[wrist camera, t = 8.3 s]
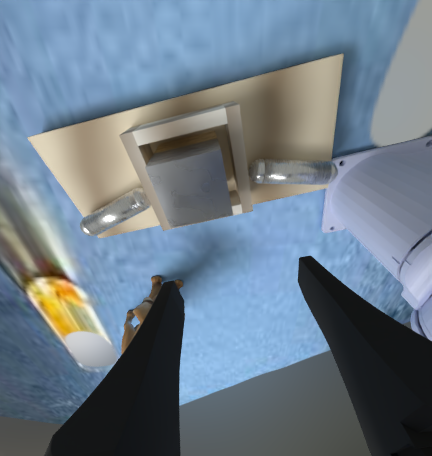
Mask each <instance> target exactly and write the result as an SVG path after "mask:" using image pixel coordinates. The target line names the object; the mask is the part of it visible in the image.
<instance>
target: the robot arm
mask: <svg viewBox="0 0 432 456" xmlns="http://www.w3.org/2000/svg"><path fill="white" fill-rule="evenodd" d="M427 142H428V143H427ZM426 143H427V144H426ZM341 161H343V163H342V164H340V162H341ZM331 162H333V163H334V164H335V165H336V166H337V168H338V174H337V177H336V178H335V180H334V181H333V182H331V183H329V184H328V188H326V191H325V200H324V209H323V219H322V228H321V229H322V231H323V232H324V233H329V232H334V231H339V230H343V229H347V230H348V231H349V232H350V233H351V234H352V235H353V236H354V237H355V238H356V239H357V240H358V241H359V242H360V243H361V244H362V245H363V246H364V247H365V248H366V249H367V250H368V251H369V252H370V253H371V254H372V255H373V256H374V257H375V258H376V259H377V260H378V261H379V262H380V263H381V264H382V265H383V266H384V267H385V268H386V269H387V270H388V271H389V272H390V273H391V274H392V275H393V276H394V277H395V278H396V279H397V280H398V281H400V282H401V283H402V284H403V286H404V290H403V292H402V294H401V295H402V296H403V297H404V298H405V299H406V301H407V302H408V303H409V304H410V305H411V306H412V307H413V308H414V310H413V312H412V314H411V327H412V330H411V329H409V328H408V327H406V326H404V325H402V324H401V323H399V322H398V321H396V320H394V319H393V318H391V317H389V316H388V315H386V314H385V313H383V312H382V311H380V310H379V309H377V308H376V307H374V306H373V305H371V304H370V303H368V302H367V301H366V300H364V299H363V298H361V297H360V296H359V295H357V294H356V293H355V292H353V291H352V290H351V289H349V288H348V287H347V286H346V285H344V284H343V283H342V282H341V281H339V280H338V279H337V278H336V277H335V276H333V275H332V274H331V273H330V272H329V271H327V270H326V269H325V268H324V267H323V266H322V265H321V264H320V263H318V262H317V261H316V260H315V259H314V258H313V257H312V256H306V257H300V258H299V271H298V283H299V286H300V288H301V291H302V293H303V296H304V298H305V300H306V302H307V304H308V306H309V308H310V310H311V312H312V314H313V316H314V318H315V319H316V321H317V323H318V325H319V327H320V329H321V331H322V333H323V335H324V336H325V338H326V341H327V343H328V345H329V347H330V349H331V351H332V354H333V356H334V359H335V361H336V363H337V366H338V368H339V371H340V373H341V376H342V378H343V381H344V383H345V386H346V388H347V391H348V393H349V396H350V398H351V401H352V404H353V406H354V409H355V411H356V415H357V417H358V420H359V423H360V425H361V428H362V431H363V434H364V437H365V439H366V442H367V445H368V448H369V451H370V453H371V455H372V456H432V135H431V136H427V137H423V138H418V139H414V140H410V141H405V142H401V143H397V144H392V145H388V146H384V147H379V148H375V149H371V150H366V151H362V152H358V153H353V154H349V155H345V156H340V157H336V158H333V159H332V160H331ZM339 164H340V165H339ZM331 227H332V228H331ZM183 328H184V300H183V298H182V296H181V294H180V292H179V290H178V288H177V286H176V284H175V281H169V282H164V283H163V284H162V287H161V289H160V291H159V293H158V295H157V297H156V299H155V301H154V302H153V304H152V306H151V308H150V310H149V312H148V314H147V315H146V317H145V319H144V321H143V323H142V324H141V326H140V328H139V329H138V331H137V333H136V334H135V336H134V337H133V339H132V341H131V342H130V344H129V345H128V347H127V348H126V350H125V351H124V352H123V354H122V355H121V357H120V358H119V359H118V361H117V362H116V363H115V365H114V366H113V367H112V369H111V370H110V371H109V373H108V374H107V375H106V377H105V378H104V379H103V380H102V382H101V383H100V384H99V385H98V386H97V387H96V389H95V390H94V391H93V392H92V393H91V395H90V396H89V397H88V398H87V399H86V401H85V402H84V403H83V404H82V405H81V406H80V407H79V408H78V409H77V411H76V412H75V413H74V414H73V415H72V416H71V417H70V418H69V419H68V420H67V421H66V422H65V423H64V425H63V426H62V427H61V428H60V429H59V430H58V431H57V432H56V433H55V434H54V435H53V437H52V439H51V441H50V443H49V446H48V448H47V450H46V453H45V455H44V456H180V431H179V369H180V356H181V347H182V337H183Z"/></svg>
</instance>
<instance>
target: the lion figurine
mask: <svg viewBox="0 0 432 456" xmlns="http://www.w3.org/2000/svg"><path fill="white" fill-rule="evenodd" d="M151 281H152V290H151V293H150V295H149V297H146V298H145V299H144V300H143V302H142V304H140V305H139V306H137V307H136V308H135V309H134V310H133V311H128V312H127V318H126V322H125V324H124V330H125V331H124V335H123V339H122V354H123V352H124V351H125V350H126V348H127V347H128V345H129V344H130V342H131V341H132V339H133V337H134V336H135V334H136V333H137V331H138V329H139V328H140V326H141V324H142V323H143V321H144V319H145V317H146V315H147V314H148V312H149V310H150V308H151V306H152V304H153V302H154V301H155V299H156V297H157V295H158V293H159V291H160V289H161V286H162V283H161V282H162V278H161V277H159V276H155V277H152V278H151ZM175 284H176V286H177V288H178V290H179V288H181V287H182V286H183V282H182V281H181V280H175ZM184 308H185V307H184ZM135 316H136V317H137V318H138V320H139V321H140V324H138V325H137V326H136V327H135V328H134V327H133V325H132V324H131V322H132V319H133V318H134V317H135ZM184 320H185V313H184Z"/></svg>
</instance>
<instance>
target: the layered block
mask: <svg viewBox="0 0 432 456" xmlns="http://www.w3.org/2000/svg"><path fill="white" fill-rule="evenodd" d="M145 169H146V171H147V173H148V176H149V178H150V180H151V183H152V185H153V187H154V190H155V192H156V195H157V197H158V199H159V202H160V204H161V206H162V209H163V211H164V213H165V216H166V218H167V220H168V223H169V225H170V228H175V227H180V226H185V225H189V224H194V223H199V222H204V221H208V220H213V219H218V218H222V217H227V216H232V215H233V211H232V206H231V200H230V195H229V190H228V185H227V179H226V174H225V169H224V164H223V158H222V153H221V149H220V145H219V142H218V139H217V136H216V133H215V130H214V131H210V132H206V133H202V134H198V135H194V136H189V137H185V138H181V139H177V140H173V141H169V142H165V143H161V144H160V145H159V146H158V148H157V149H156V151H155V152H154V154H153V156H152V157H151V159H150V160H149V162H148V164H147V165H146V167H145Z"/></svg>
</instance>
